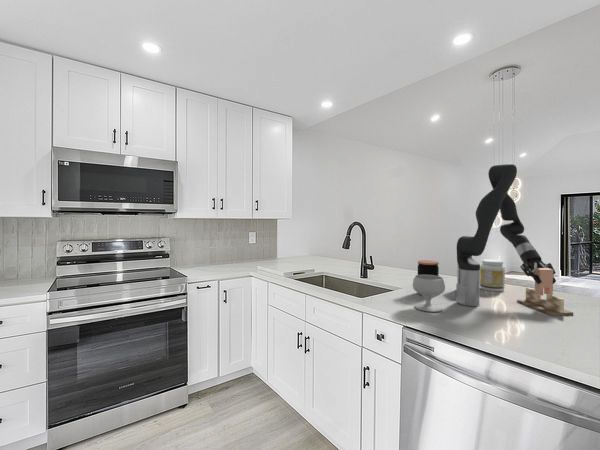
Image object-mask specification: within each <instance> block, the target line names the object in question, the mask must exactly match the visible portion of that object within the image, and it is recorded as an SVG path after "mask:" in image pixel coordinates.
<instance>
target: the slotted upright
mask: <svg viewBox="0 0 600 450" xmlns="http://www.w3.org/2000/svg"><path fill="white" fill-rule="evenodd" d="M535 271H536V273H537V275H538V276H539V278H540V279H541V281H542V282H541V283H540V284H537V283H536V282H535V281H534V290H535V294H538V295H541V296H544V294H545V295H547V294H550V295H553V296H554V284H553V277H554V275H553V269H549V268H535Z"/></svg>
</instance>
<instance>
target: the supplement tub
mask: <svg viewBox="0 0 600 450" xmlns="http://www.w3.org/2000/svg"><path fill="white" fill-rule="evenodd" d="M505 279H506V268H505V266H504V261H503V260H500V259H491V258H490V259H487V258H486V259H482V261H481V265H480V289H482V290H485V291H489V292H496V293H497V292H502V291H504V290H505V287H506V285H505V282H506V281H505Z"/></svg>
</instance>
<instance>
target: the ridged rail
mask: <svg viewBox="0 0 600 450" xmlns="http://www.w3.org/2000/svg"><path fill="white" fill-rule="evenodd" d="M541 296H542V295H538V294H535V288H534V289H533V288H531V287H525V299H516V302H517V303H518V304H521V305H522V306H526V307H528V308H531V309H534V310H535V311H537V312H541V313H543V314H546V315H549V316H574V312H573V311H570V310H567V309H565V307H564V306H565V298H562V297H559V296H555V295H554V294H553V295H550V294H546V297H545V298H543V297H541Z"/></svg>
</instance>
